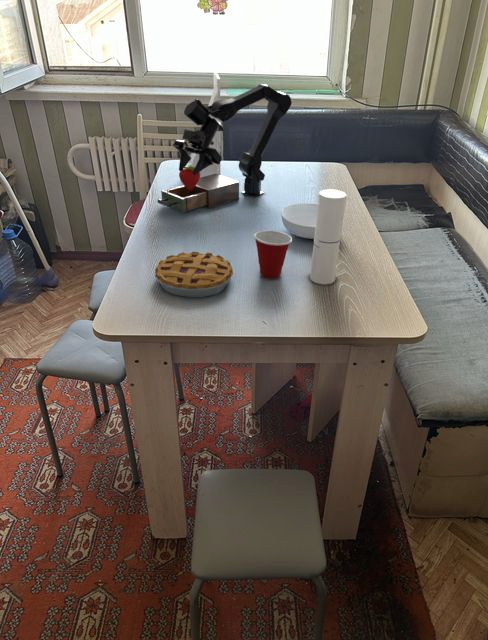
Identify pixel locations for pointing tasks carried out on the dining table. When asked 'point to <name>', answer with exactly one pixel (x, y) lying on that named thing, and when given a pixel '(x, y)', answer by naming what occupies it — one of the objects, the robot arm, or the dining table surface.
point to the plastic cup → (271, 252)
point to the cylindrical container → (327, 235)
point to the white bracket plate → (195, 157)
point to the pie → (194, 274)
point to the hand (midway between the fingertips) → (186, 172)
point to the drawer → (183, 198)
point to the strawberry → (189, 177)
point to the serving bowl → (300, 219)
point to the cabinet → (218, 189)
